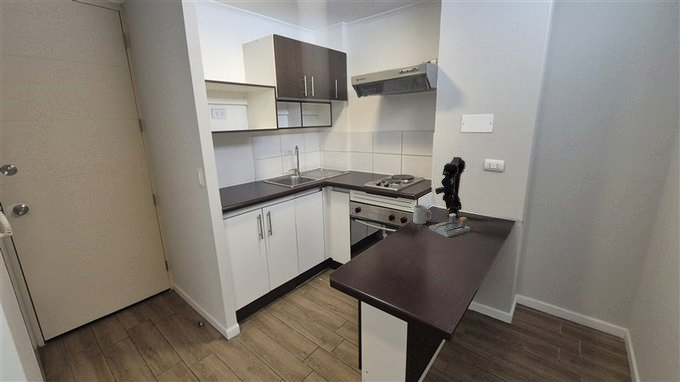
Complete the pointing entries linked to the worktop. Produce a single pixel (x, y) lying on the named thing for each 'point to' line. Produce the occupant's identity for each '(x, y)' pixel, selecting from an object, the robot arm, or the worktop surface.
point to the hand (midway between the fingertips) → (448, 207)
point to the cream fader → (452, 218)
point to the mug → (421, 214)
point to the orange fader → (462, 221)
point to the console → (448, 228)
